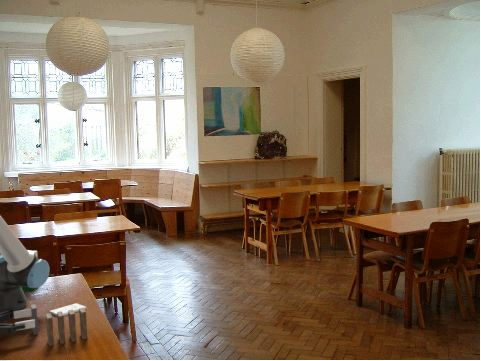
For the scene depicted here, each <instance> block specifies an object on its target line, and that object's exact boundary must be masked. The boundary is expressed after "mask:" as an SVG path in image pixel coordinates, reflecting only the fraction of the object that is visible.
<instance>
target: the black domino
mask: <svg viewBox="0 0 481 361" xmlns="http://www.w3.org/2000/svg"><path fill="white" fill-rule="evenodd" d="M30 309H31V314H32V316H31V320H34V319H35V327H34V328H32V333H33V335H34V336H35V335H39V323H38V322H39V321H38V310H37V309H38V308H37V305H36V304H30Z"/></svg>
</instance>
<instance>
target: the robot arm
mask: <svg viewBox="0 0 481 361" xmlns="http://www.w3.org/2000/svg"><path fill="white" fill-rule="evenodd" d="M25 248H26V247H25V246H24V245H23V243H22V242H21V241H20V239H19V238H18V236H17V235H16V234H15V233H14V231H13V230H12V229H11V227H10V226H9V225H8V223H7V222H6V221H5V219H4V218H3V216H1V214H0V335H15V334H16V332H17V331H22V330H27V329H33V328H34V327H35V319H34V320H32V319H29V320H23V321H22V320H21V321H18V322H17V321H16V322H15V323H6V322H8V321H9V320H12V319H14V320H15V319H16V320H17V319H21V318H29V317H32V314H31V308H26V307H27V306H28V299H27V297H26V295H25V293H24V292H25V291H23V290H22V286H23V287H30V288H37V289H38V288H40V287H42V286H43V285H44V284H46V282H47V280H48V278H49V276H50V269H51V268H50V265H49V262H48V261H47V260H45V259H43V258H38V256H37V257H36V255H35V254H34V253H33V252H32V251H33V250H32V251H31V250H29V249H27V248H26V249H25ZM25 308H26V309H25Z"/></svg>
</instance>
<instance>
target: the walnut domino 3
mask: <svg viewBox="0 0 481 361" xmlns="http://www.w3.org/2000/svg"><path fill="white" fill-rule="evenodd" d="M67 316H68V327H69V338H70V340H71V342H77V341H78V340H77V328H76V327H77V325H76V324H77V323H76V312H75V313H74V311H73V310H68V315H67Z"/></svg>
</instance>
